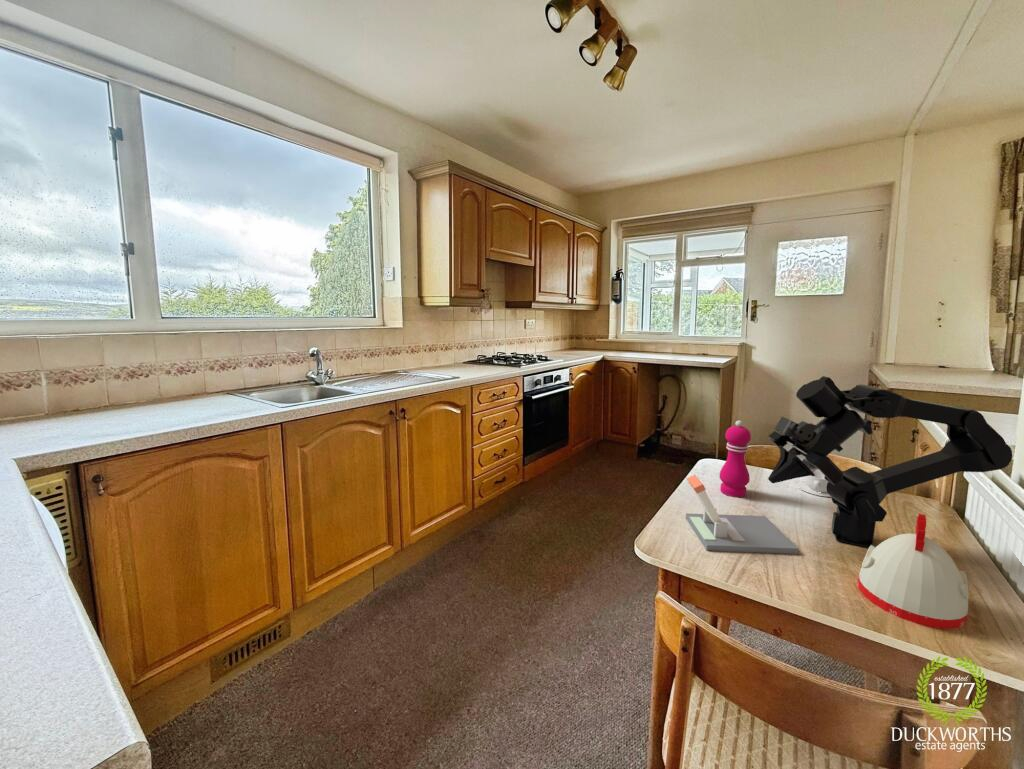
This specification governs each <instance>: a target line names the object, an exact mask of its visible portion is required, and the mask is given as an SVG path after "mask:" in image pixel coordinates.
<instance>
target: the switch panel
mask: <svg viewBox="0 0 1024 769" xmlns="http://www.w3.org/2000/svg"><path fill="white" fill-rule="evenodd" d="M715 510H716V511H717V508H715ZM718 516H719V517H720V519H721V521H722V522H715V524H714V523H713V521H712V520H711V519H710V517H709V516H708V515H707V513H706V511H705V509H704V508H703V513H685V519H686V521H687V523H688V524H689V525H690V527H691V529H692V530H693V531H694V533H695V535H696V536H697V538H698V540H699V541H700V543H701V544H702V545H703V547H704V549H705V550H706V551H707V550H712V552H713V551H714V552H735V553H736V552H739V553H760V554H761V553H765V554H790V555H794V554H795V555H798V554H799V547H798V546H797V545H796V544H795V543H793V541H792V540H790V538H788V537H787V535H786V534H784V533H783V532H782V531H781V530H780V529H779V528H778V526H776V525H775V524H774V523H773V522H772V521H771V520H770V518H768V517H767V516H766V515H747V514H746V515H744V514H742V515H741V514H718Z"/></svg>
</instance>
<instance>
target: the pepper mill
mask: <svg viewBox="0 0 1024 769" xmlns="http://www.w3.org/2000/svg"><path fill="white" fill-rule="evenodd" d="M743 425H744V423H743V421H742V420H737V421H735V424H734V425H733V426H730V427H728V428H727V429H726V431H725V439H726V441H727V443H726V449H727V457H726V460H725V463H724V464H723V465H722V467H721V469H720V472H719V474H718V475H719V479H720V480H721V483H720V488H719V490H720V492H721V493H722V494H723V495H725V496H729V497H733V498H743V497H745V496H746V495H747V488H748V487H746V486H747V485H748V484H749V483H750V473H749V469H748V468H747V465H746V460H745V457H746V456H745V455H746V452H748V450H749V449H748V447H749V445H748V444H749V443H750V442H751V440H752V435H751V434H752V433H751V431H750V430H749V429H748V428H746V427H745V426H743Z"/></svg>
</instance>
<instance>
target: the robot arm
mask: <svg viewBox="0 0 1024 769" xmlns="http://www.w3.org/2000/svg"><path fill="white" fill-rule="evenodd" d="M795 396H796V397H797V399H798V400H799V401H800V402H801V403H802V404H803V405H804V406H805V407H806V408H807V409H808V411H809V412H810V413H811V414H812V415H813V416H814V417H815V418H822V419H821V420H820V421H819V422H817V423H816V424H814V423H808V422H807V421H804V420H802V421H800V422H799V423H797V422H796V421H793V420H790V419H789V418H786V417H784V416H781V417H780V419H779V420H778V422H777V424H776V425H775V427H774V428H773V430H774V431H773V432H771V433H770V434H769V435H767V437H768V439H770V441H771V442H772V443H773V444H774V445H776V447H777V448H778V450H779V453H780V454H779V456H780V457H779V459H778V461H777V463H776V465H775V466H774V468H773V469H772V471H771V473H770V475H769V476H768V478H767V480H768V481H769V482H770V483H771V484H776V483H781V482H784V481H789V480H793V479H799V478H805V476H815V474H814V473H813V472H814V471H815V470H820V471H821V472H822V473H823V474H824V475H825V477H824V478H825V479H826V480H827V481H828V483H827V487H826V488H827V492H828V494H829V495H830V496H831V497H830V498H831V501H832V503H833V505H834V504H835V505H836V506H837V507H836V511H834V512H833V514H832V520H831V528H830V529H831V532H832V534H833V535H834V539H835V540H836V541H837V542H840V543H843V544H850V545H854V546H858V547H859V546H860V547H864V548H868V549H869V547H870V546H871V545H872V546H874V547H875V548H876V546H875V543H874V536H875V529H876V523H877V522H883V521H884V520H885V517H886V516H887V515H888V512H887V511H886V510H885V509H884V507H882V505H880V504H881V503H882V502H883V500H884V499H886V497H887V495H889V494H891V493H895V492H898V491H901V490H906V489H908V488H911V487H915V486H918V485H921V484H924V483H928V482H930V481H934V480H937V479H940V478H944V477H947V476H951V475H954V474H957V473H962V472H964V473H986V472H993V471H999V470H1003V469H1004V468H1006V467H1008V466H1010V463H1011V462H1012V460H1013V450H1012V448H1011V447H1010V446H1009V445H1008V444H1007V442H1006V440H1005V439H1004V438H1003V436H1002V435H1001V434H999V433H998V432H997V430H995V429H994V428H993V427H992V426H991V425H990V424H989V423H988V422H987V421H986V419H985V417H984V415H983V413H981V412H979V411H977V410H975V409H972V408H968V407H963V406H959V405H955V406H954V405H953V406H952V405H948V404H947V405H946V404H942V403H937V402H936V403H935V402H931V401H930V402H929V401H925V400H919V399H914V398H908V397H905V396H903V395H901V394H898V393H896V392H893V391H890V390H888V389H883V388H878V387H875V386H871V385H868V384H856V386H854V387H853V388H850V389H844V390H840V388H839V387H838V386H837V385H836V383H835V382H834V381H833V379H832V378H831V377H828V376H824V375H823V376H821V377H820V378H819V379H815V380H812V381H810V382H807V383H806V384H803V385H801V386H800V388H799V389H798V390H797V392H796V395H795ZM847 406H848V407H847ZM849 408H850V409H849ZM859 413H861V414H864V415H868V416H871V417H873V418H878V419H880V418H881V419H895V418H911V419H917V420H921V421H926V422H927V421H928V422H931V423H937V424H943V425H946V436H947V438H948V441H947V442H946V443H945V445H944V446H943V447H942V449H940V450H938V451H935V452H931V453H928V454H926V455H923V456H920V457H916V458H913V459H910V460H907V461H904V462H900V463H898V464H894V465H891V466H888V467H885V468H882V469H877V470H876V471H872V472H867V471H865V470H863V469H862V468H861V467H860V468H859V467H858V466H853V467H850V468H848V469H845V470H841V469H840V467H838V466H837V465H836V464H835V462H834V461H833V460H832V459H831V458H830V457H828V456H829V455H830V454H831V453H832V452H834V451H836V452H838V453H840V452H841V451H843V450H844V448H843V447H842V446H841V445H842V444H844V442H846V441H847V440H849V439H850V438H851V437H853V435H855V434H856V433H857V432H858V431H859V432H861V433H864V434H866V435H869V436H870V435H872V434H873V428H872V424H873V421H872V420H869V419H866V418H863V417H862V416H861V415H860V414H859Z"/></svg>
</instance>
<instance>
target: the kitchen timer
mask: <svg viewBox="0 0 1024 769" xmlns="http://www.w3.org/2000/svg"><path fill="white" fill-rule="evenodd" d="M926 516H927V515H926V514H922V513H918V515H917V518H916V526H915V530H914V533H909V532H908V533H902V534H901V533H900V534H897V535H894V536H891V537H889V538H887V539H885V540H883V541H882V542H880V543H879V544H877V546H875V547H874V546H872V545H871V546H870V547H869V548H868V549H867V551H866V554H865V555H864V558H863V561H862V563H861V568H860V569H859V573H858V577H857V578H858V579H857V588H858V590H859V592H860V593H861V594H862V595H863V596H864V597H865V598H866V599H867V600H868V601H869V602H870V603H872V604H873V605H875V606H877V607H878V608H880V609H881V610H883V611H884V612H886V613H889V614H891V615H893V616H896V617H898V618H900V619H903V620H905V621H909V622H910V621H911V622H910V623H913V622H914V624H917V625H920V626H925V627H929V628H934V629H945V630H950V629H958V628H961V627H962V626H964V625H965V624H966V622H967V621H966V620H967V618H968V617H967V616H968V612H969V595H970V594H969V585H968V583H969V582H968V578H967V574H966V572H965V571H964V569H963V570H959V568H958V566H957V564H956V563H955V561H954V560H953V558H952V557H951V556H950V554H949V553H947V551H946V550H945V549H944V548H943V547H941V546H940V545H939V544H938V543H937V542H936V541H934V540H932V539H931V538H929V537H927V536H926V532H927V531H926V529H927V528H926V527H927V517H926Z"/></svg>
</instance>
